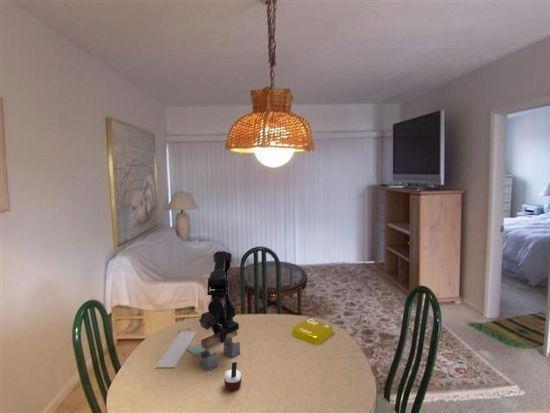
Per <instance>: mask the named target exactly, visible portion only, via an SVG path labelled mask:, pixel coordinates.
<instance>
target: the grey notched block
mask: <svg viewBox="0 0 550 413" xmlns="http://www.w3.org/2000/svg"><path fill="white" fill-rule="evenodd" d="M210 351H211V349H210V350H209V349H206V350H204V351H201V352H200V354H199V361H200V363H199V364H200V366H201V367H202V368H203V369H205V370H207V371H208V372H210V371H213V370H214V369H216V368H218V354H217V352H214V353H211V352H210Z"/></svg>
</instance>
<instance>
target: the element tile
mask: <svg viewBox="0 0 550 413" xmlns="http://www.w3.org/2000/svg"><path fill="white" fill-rule="evenodd" d="M291 331H292V333H291V334H292V335H291V336H292V338H294V339H297V340H300V341H303V342H305V343H308V344H311V345H313V346H319V345H321V344H322V343H323V342H325V341H326V340H328V339H329V338H331V337H332V336H333V335H334V327H333V325H331V324H328V323H326V322H324V321H320V320H316V319H313V318H306V319H305V320H303V321H300V322H299V323H297V324H296V325H294V326H293V327H292V330H291Z"/></svg>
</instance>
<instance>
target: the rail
mask: <svg viewBox="0 0 550 413" xmlns="http://www.w3.org/2000/svg"><path fill="white" fill-rule="evenodd" d="M236 336H238V330H236V331H233V332H231V333H229V334H227V336H226V338H225V341H226V340H228V339H230V338H232V339H233V338H235V337H236ZM200 343H201V346H202V348H204V349H205V350H206V349H209V348H211V347H213V346H215V345H217V344H219V343H221V339H220V332H219V333H216V334H214V333H213V334H212V335H210V336H208V337H205V338H203V339H201V342H200Z"/></svg>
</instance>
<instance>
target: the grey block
mask: <svg viewBox="0 0 550 413" xmlns="http://www.w3.org/2000/svg"><path fill="white" fill-rule="evenodd" d="M223 354H224V355H226V356H227V355H228V356H227V357H229V356H230V357H229V358H231V359H232V358H233V359H235V358H238V357H239V356H240V355H241V342H240V341H237V342H234V341H233V337H232V338H230V339H228V340H226V341H224V343H223ZM238 355H239V356H238Z"/></svg>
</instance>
